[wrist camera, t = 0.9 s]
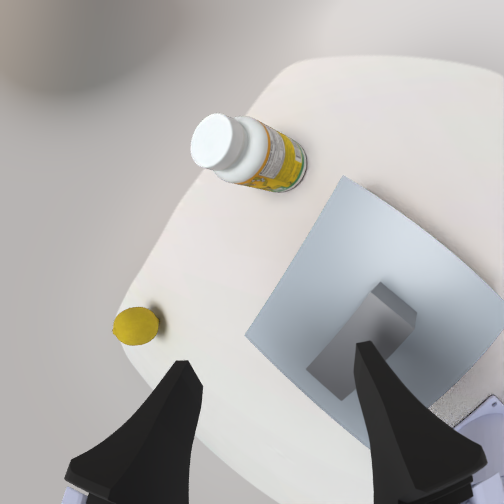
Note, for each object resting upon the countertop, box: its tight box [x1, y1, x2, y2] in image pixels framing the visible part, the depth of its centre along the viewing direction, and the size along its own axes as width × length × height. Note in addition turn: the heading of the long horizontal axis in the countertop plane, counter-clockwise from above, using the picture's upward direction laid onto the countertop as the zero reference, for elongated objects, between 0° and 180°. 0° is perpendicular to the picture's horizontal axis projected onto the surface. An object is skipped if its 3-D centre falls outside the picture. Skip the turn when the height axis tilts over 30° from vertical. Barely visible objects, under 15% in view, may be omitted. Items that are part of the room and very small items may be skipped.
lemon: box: [112, 307, 159, 346], centre depth 36 cm, size 6×6×8 cm
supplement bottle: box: [191, 113, 306, 192], centre depth 21 cm, size 5×5×10 cm
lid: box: [245, 175, 504, 449], centre depth 15 cm, size 14×14×6 cm
